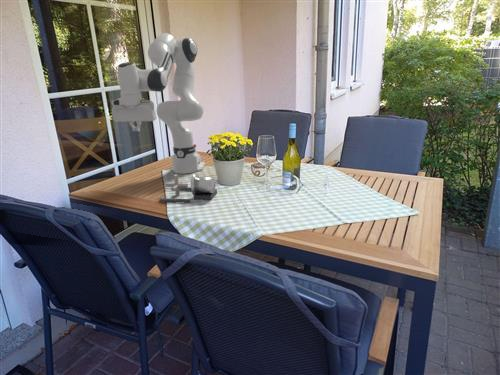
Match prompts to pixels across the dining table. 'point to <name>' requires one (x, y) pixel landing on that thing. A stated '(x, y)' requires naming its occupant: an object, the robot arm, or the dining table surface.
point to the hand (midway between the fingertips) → (136, 131)
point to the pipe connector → (176, 185)
